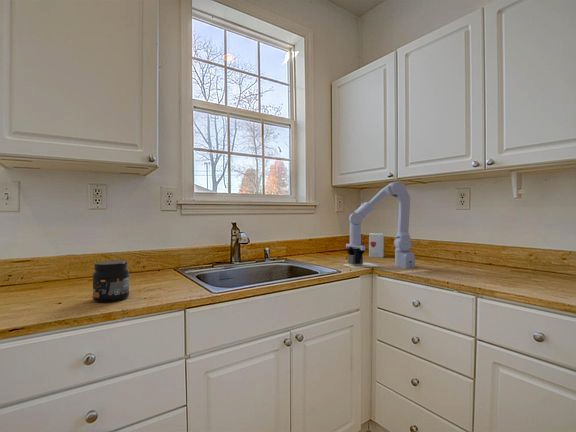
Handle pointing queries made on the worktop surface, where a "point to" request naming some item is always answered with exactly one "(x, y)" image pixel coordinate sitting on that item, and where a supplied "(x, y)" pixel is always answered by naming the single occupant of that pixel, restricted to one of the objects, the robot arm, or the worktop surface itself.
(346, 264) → the board
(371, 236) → the supplement box
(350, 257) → the block
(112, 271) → the supplement container
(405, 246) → the robot arm
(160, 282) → the worktop surface
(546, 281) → the worktop surface
